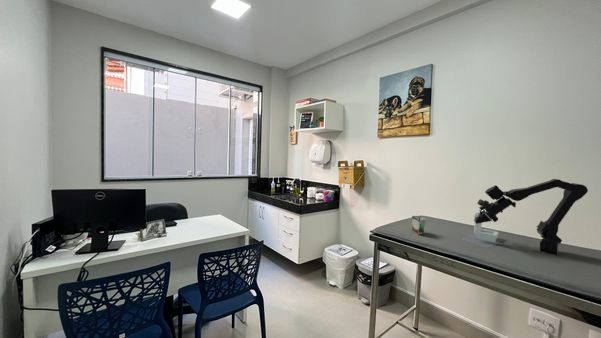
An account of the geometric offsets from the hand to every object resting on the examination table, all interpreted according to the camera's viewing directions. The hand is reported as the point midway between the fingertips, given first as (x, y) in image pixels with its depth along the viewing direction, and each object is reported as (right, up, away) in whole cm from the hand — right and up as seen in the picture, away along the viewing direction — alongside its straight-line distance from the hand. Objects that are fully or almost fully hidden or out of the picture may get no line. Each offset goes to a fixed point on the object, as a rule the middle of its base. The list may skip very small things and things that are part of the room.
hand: (475, 222), depth 148 cm
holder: (+11, -11, +5) cm, 16 cm away
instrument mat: (+6, -12, +3) cm, 13 cm away
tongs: (+1, -7, 0) cm, 7 cm away
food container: (-26, -10, +14) cm, 32 cm away
